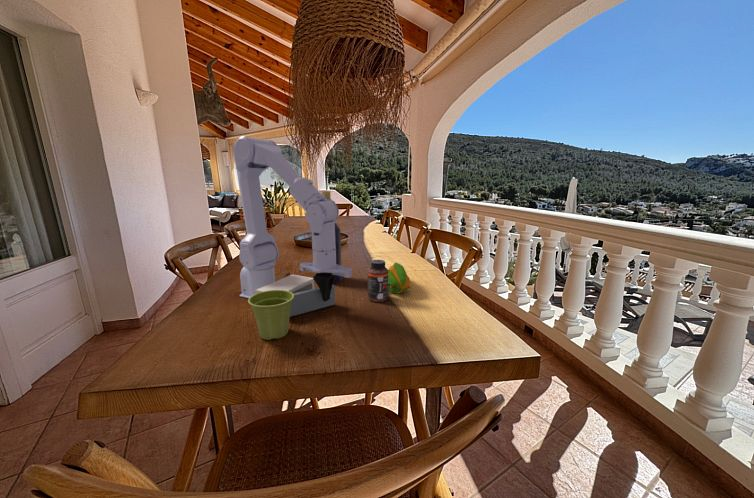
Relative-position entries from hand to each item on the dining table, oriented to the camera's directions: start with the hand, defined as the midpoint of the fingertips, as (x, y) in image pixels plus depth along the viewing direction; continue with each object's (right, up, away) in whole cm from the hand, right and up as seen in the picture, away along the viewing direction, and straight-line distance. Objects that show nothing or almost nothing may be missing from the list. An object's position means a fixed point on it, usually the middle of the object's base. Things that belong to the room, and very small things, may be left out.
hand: (326, 299), depth 77 cm
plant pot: (-10, -6, -11) cm, 16 cm away
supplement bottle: (+13, -1, +9) cm, 16 cm away
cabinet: (-12, -2, +5) cm, 13 cm away
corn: (+19, +1, +19) cm, 27 cm away
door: (-4, -3, 0) cm, 5 cm away
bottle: (-3, +2, +25) cm, 25 cm away
